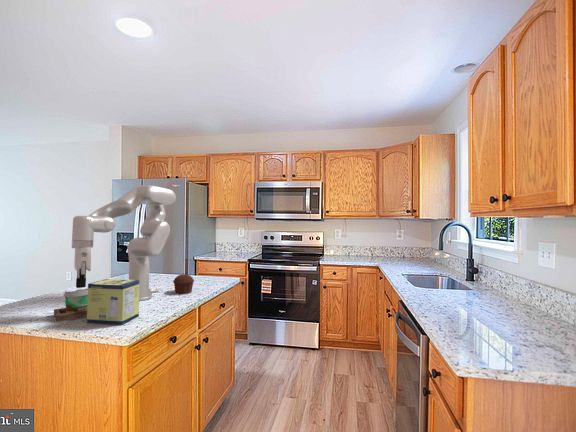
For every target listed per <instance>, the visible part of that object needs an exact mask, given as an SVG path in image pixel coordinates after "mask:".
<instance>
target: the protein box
mask: <svg viewBox="0 0 576 432" xmlns="http://www.w3.org/2000/svg"><path fill="white" fill-rule="evenodd" d="M87 288H88V300H87V317H86V323H87V324H95V325H98V324H99V325H114V326H116V325H117V326H123V325H124V324H126V323H129V322H130V321H132V320H135V319H136V318H137V319H138V318H139V316H140V314H139V313H140V301H139V280H129V279H120V278H119V279H116V278H105V279H102V280H98V281H94V282H89V283H87Z"/></svg>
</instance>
